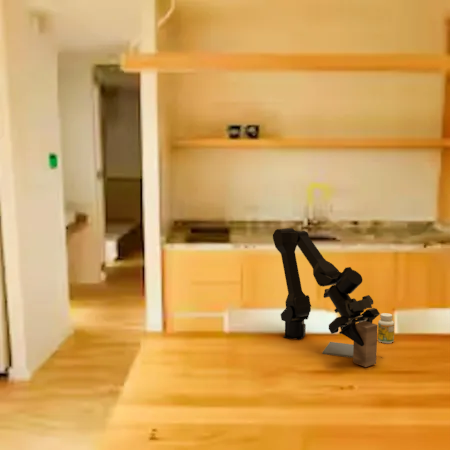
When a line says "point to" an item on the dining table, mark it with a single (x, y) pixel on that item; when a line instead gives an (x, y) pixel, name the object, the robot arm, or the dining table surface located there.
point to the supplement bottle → (386, 328)
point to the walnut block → (366, 344)
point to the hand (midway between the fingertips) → (368, 343)
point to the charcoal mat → (339, 349)
